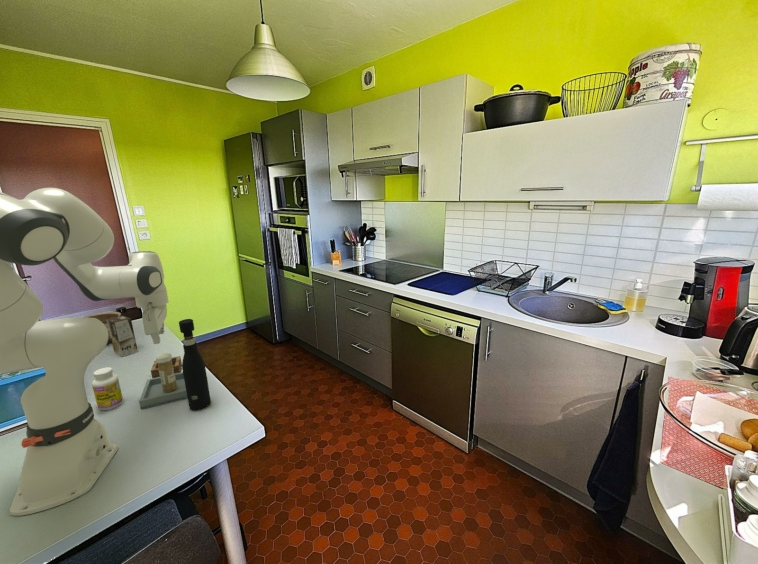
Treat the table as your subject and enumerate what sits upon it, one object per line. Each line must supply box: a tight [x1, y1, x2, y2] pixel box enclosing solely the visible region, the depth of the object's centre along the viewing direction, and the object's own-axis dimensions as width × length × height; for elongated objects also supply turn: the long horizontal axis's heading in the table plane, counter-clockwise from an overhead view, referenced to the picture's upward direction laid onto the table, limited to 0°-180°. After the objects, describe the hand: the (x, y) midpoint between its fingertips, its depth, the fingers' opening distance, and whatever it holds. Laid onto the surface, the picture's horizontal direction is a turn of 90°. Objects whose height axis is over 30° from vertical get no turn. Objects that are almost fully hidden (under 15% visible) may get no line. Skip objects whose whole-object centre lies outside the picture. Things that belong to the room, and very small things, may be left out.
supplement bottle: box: [91, 366, 124, 411], centre depth 107 cm, size 7×7×13 cm
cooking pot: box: [84, 311, 122, 343], centre depth 157 cm, size 25×19×12 cm
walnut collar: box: [150, 355, 183, 379], centre depth 128 cm, size 9×9×4 cm
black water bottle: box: [178, 318, 212, 412], centre depth 104 cm, size 6×6×30 cm
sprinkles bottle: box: [155, 352, 177, 392], centre depth 114 cm, size 5×5×13 cm
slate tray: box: [138, 371, 188, 410], centre depth 115 cm, size 15×15×3 cm
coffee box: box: [107, 314, 139, 357], centre depth 145 cm, size 9×6×16 cm
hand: (159, 338), depth 110 cm, fingers open, 8 cm apart
